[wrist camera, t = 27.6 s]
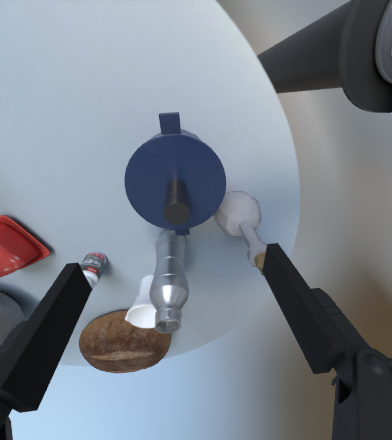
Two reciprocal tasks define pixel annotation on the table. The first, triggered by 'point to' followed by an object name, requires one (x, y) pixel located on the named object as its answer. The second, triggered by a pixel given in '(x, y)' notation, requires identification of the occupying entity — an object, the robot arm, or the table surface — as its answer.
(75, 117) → the table surface
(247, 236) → the potion bottle
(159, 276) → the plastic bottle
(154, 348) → the bread
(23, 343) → the robot arm
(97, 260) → the pill bottle
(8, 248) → the butter dish
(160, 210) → the lid
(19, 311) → the bowl
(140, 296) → the cup
